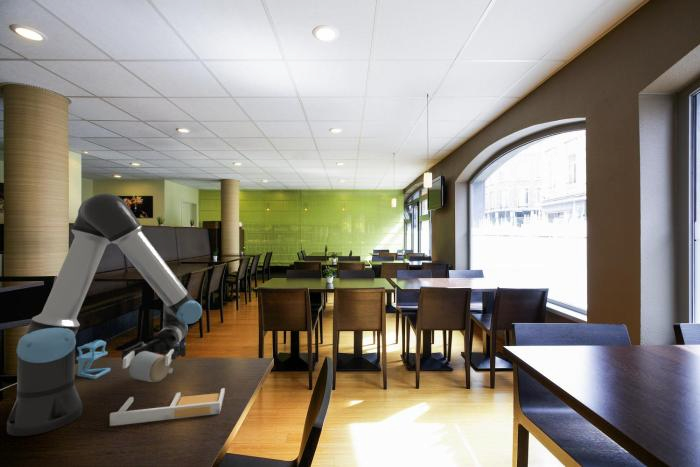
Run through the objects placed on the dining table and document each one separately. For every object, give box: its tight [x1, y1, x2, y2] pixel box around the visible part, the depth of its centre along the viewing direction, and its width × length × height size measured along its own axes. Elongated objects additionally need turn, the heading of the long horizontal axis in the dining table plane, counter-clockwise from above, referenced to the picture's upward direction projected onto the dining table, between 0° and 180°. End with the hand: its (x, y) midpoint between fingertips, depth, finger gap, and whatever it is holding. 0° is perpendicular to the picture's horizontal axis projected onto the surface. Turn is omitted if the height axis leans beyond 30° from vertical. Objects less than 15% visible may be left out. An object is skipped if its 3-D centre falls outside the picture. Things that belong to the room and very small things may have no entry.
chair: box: [75, 339, 111, 380], centre depth 124 cm, size 8×8×12 cm
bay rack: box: [109, 387, 226, 427], centre depth 100 cm, size 27×14×3 cm, turn 104°
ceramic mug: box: [128, 351, 174, 383], centre depth 101 cm, size 11×8×8 cm
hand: (145, 362), depth 95 cm, fingers closed on ceramic mug, 10 cm apart
